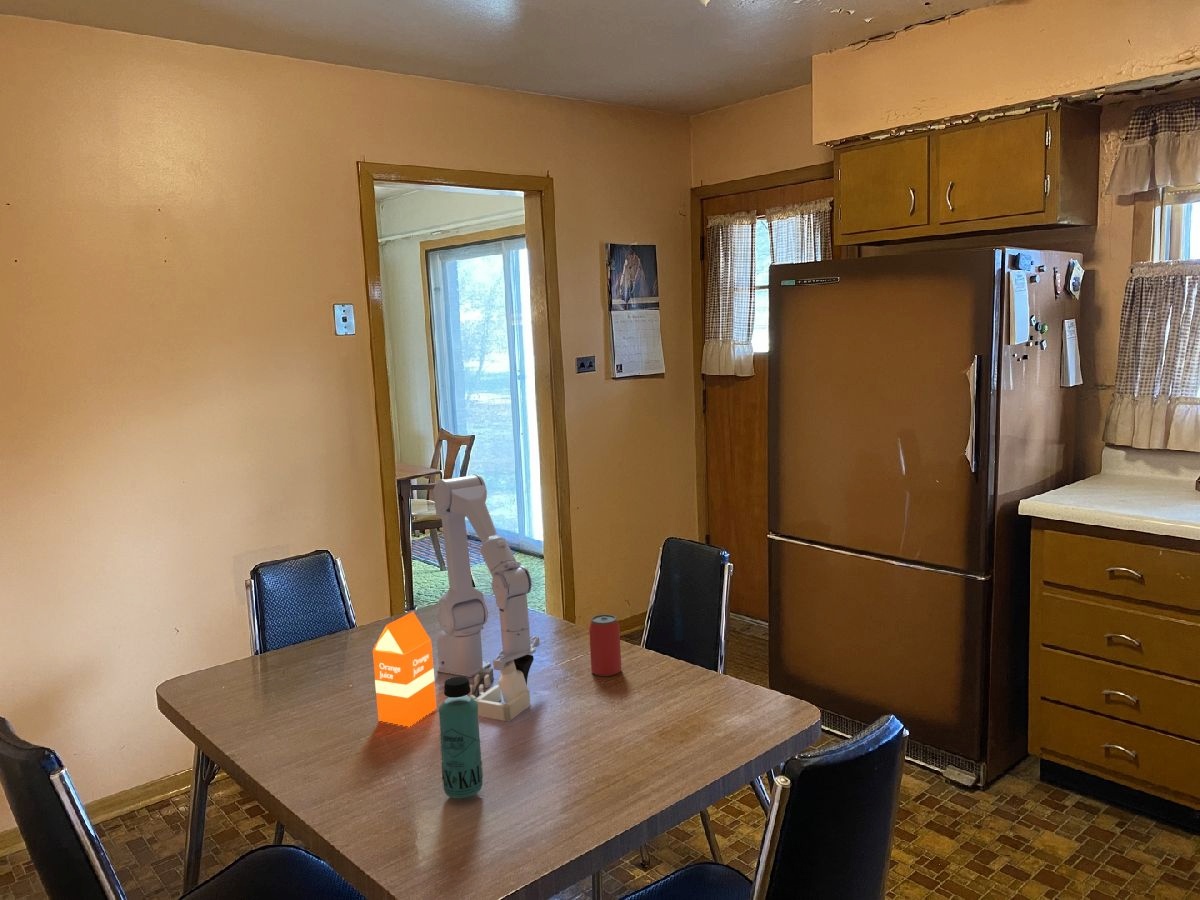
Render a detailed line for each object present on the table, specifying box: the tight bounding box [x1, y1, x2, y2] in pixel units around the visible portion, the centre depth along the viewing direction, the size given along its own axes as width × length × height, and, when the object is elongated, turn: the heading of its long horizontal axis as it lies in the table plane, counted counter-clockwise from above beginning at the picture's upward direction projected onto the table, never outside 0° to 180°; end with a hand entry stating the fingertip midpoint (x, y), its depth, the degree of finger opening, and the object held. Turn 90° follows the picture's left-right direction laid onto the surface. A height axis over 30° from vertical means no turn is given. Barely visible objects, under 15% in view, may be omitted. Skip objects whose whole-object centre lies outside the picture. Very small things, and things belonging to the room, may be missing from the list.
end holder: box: [475, 684, 531, 722], centre depth 174 cm, size 8×8×3 cm
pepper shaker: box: [497, 660, 529, 704], centre depth 175 cm, size 4×4×10 cm
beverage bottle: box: [438, 675, 484, 799], centre depth 140 cm, size 6×7×20 cm
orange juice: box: [372, 611, 437, 728], centre depth 172 cm, size 8×9×20 cm
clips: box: [467, 673, 492, 700], centre depth 181 cm, size 4×13×2 cm, turn 3°
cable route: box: [473, 667, 495, 698], centre depth 182 cm, size 3×16×2 cm, turn 0°
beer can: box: [588, 614, 622, 677], centre depth 190 cm, size 7×7×12 cm
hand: (520, 691), depth 178 cm, fingers closed, pressing on pepper shaker
